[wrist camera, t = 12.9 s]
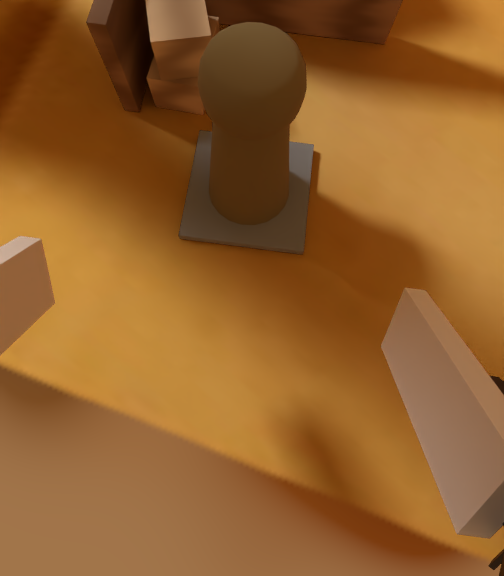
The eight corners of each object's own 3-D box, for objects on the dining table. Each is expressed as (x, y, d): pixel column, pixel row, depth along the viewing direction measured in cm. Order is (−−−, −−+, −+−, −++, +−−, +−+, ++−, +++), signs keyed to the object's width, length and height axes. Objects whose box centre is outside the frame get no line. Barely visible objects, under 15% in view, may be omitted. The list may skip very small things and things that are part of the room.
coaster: (180, 238, 25) (178, 235, 24) (200, 135, 27) (199, 130, 26) (302, 254, 25) (303, 251, 24) (312, 149, 27) (313, 144, 26)
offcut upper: (161, 81, 25) (150, 42, 22) (153, 20, 27) (142, -24, 24) (214, 74, 25) (211, 35, 22) (204, 15, 27) (199, -29, 24)
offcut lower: (156, 109, 28) (146, 77, 25) (176, 45, 30) (169, 9, 27) (203, 117, 28) (199, 86, 25) (221, 52, 30) (218, 17, 27)
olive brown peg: (265, 239, 24) (283, 129, 14) (193, 202, 25) (155, 68, 14) (303, 175, 26) (345, 30, 15) (233, 141, 26) (227, -21, 16)
